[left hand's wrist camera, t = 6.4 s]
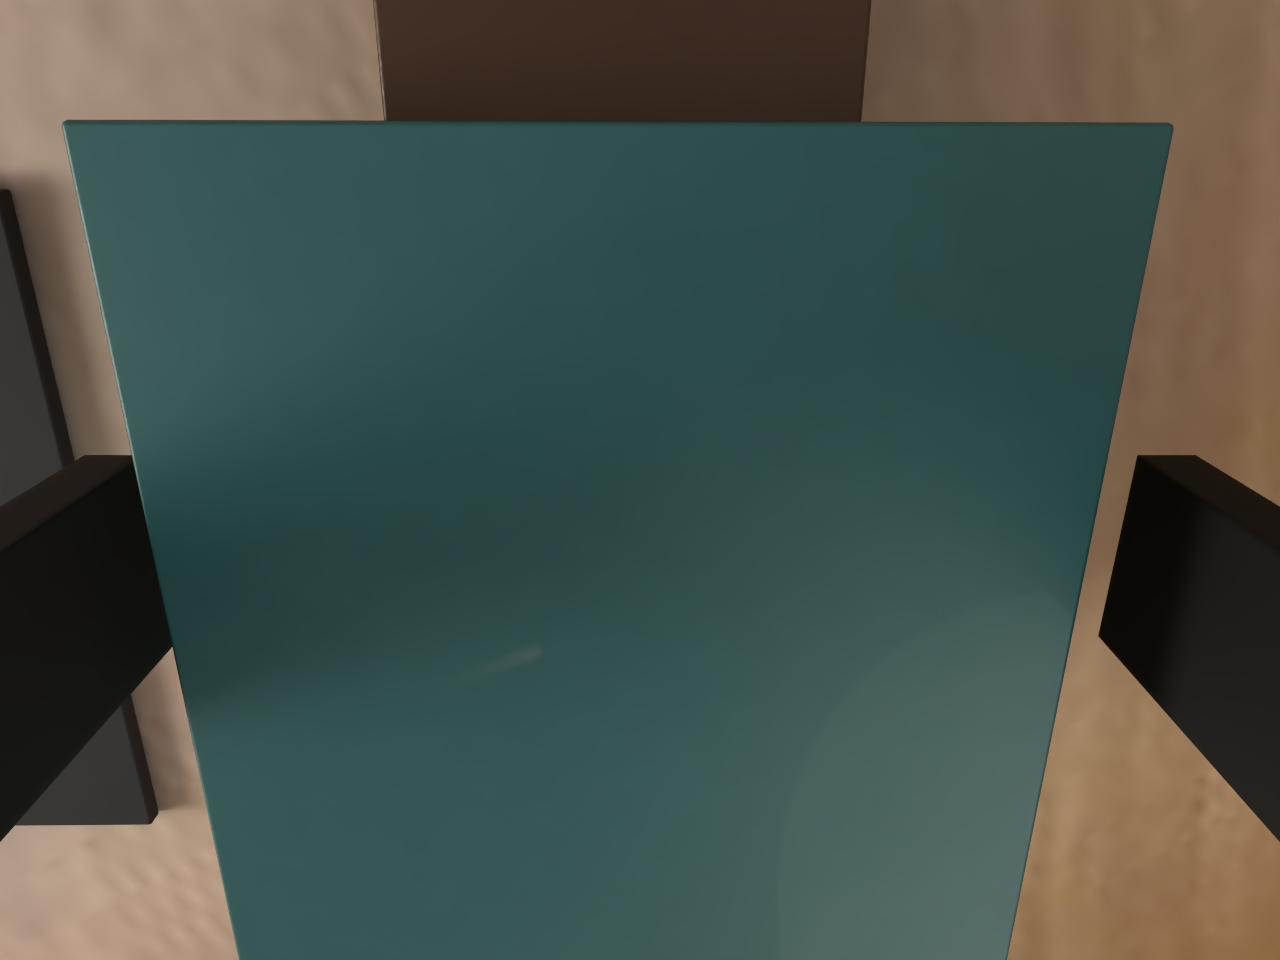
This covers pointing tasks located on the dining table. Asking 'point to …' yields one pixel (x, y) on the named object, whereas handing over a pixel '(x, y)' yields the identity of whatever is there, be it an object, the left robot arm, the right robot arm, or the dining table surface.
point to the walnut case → (622, 60)
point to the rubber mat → (13, 463)
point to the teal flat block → (619, 514)
